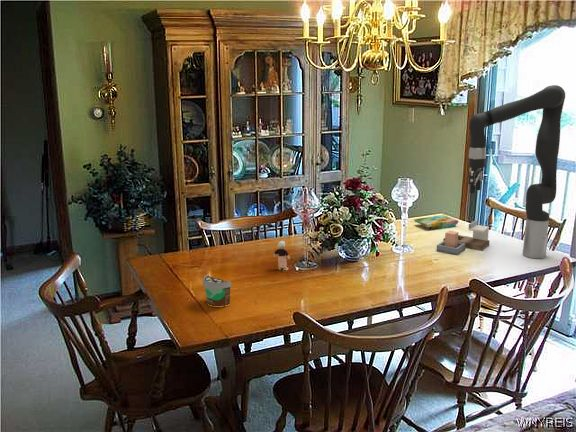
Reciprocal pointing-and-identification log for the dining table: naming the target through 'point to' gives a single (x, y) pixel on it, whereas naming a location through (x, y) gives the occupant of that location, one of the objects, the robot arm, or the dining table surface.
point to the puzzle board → (473, 242)
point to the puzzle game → (437, 222)
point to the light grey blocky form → (479, 231)
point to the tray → (450, 248)
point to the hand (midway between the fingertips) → (475, 191)
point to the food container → (217, 291)
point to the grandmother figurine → (282, 256)
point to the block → (451, 239)
